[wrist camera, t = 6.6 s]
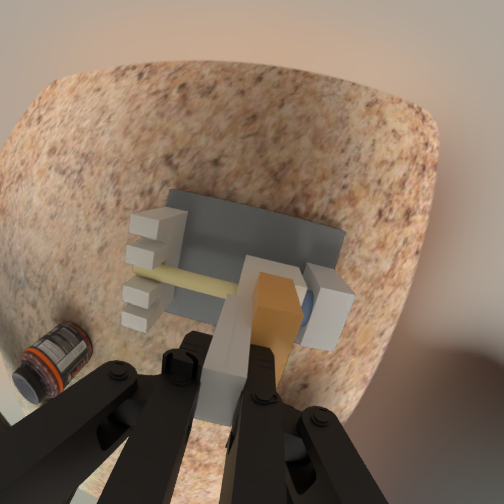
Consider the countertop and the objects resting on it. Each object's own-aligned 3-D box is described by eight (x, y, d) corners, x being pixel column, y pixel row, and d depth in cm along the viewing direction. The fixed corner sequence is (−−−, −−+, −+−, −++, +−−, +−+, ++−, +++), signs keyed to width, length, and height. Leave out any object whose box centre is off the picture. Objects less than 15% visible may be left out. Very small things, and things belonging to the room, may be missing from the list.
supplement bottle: (84, 367, 29) (39, 418, 17) (54, 335, 28) (3, 378, 17) (101, 346, 27) (50, 402, 16) (68, 310, 27) (8, 355, 16)
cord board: (157, 301, 25) (121, 341, 18) (175, 189, 23) (134, 190, 15) (305, 337, 26) (318, 389, 18) (340, 229, 23) (374, 248, 15)
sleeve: (232, 310, 21) (213, 387, 12) (247, 250, 20) (233, 299, 11) (281, 322, 21) (290, 401, 12) (299, 263, 20) (325, 319, 11)
